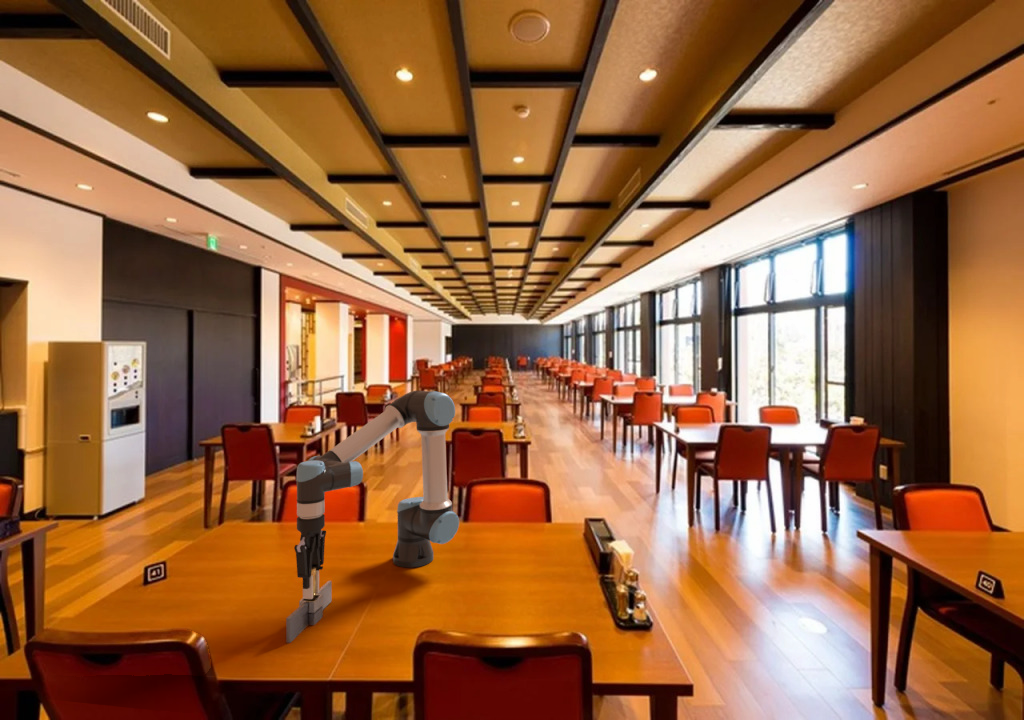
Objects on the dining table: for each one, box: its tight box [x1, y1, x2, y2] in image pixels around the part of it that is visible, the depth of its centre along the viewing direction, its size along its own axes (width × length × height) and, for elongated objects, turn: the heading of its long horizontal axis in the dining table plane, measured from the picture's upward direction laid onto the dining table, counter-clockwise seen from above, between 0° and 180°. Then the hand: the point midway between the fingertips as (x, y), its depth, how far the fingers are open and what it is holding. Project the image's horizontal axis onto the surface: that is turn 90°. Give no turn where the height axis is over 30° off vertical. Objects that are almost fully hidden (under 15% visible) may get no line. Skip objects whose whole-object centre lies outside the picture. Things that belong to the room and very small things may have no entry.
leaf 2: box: [285, 602, 324, 644], centre depth 138 cm, size 14×5×7 cm, turn 172°
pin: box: [306, 567, 316, 601], centre depth 143 cm, size 3×3×11 cm
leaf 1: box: [298, 580, 333, 613], centre depth 147 cm, size 13×5×6 cm, turn 172°
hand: (311, 595), depth 143 cm, fingers open, 3 cm apart
